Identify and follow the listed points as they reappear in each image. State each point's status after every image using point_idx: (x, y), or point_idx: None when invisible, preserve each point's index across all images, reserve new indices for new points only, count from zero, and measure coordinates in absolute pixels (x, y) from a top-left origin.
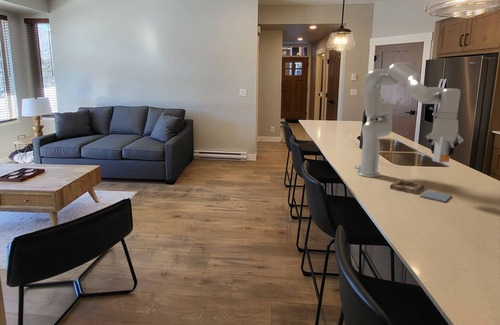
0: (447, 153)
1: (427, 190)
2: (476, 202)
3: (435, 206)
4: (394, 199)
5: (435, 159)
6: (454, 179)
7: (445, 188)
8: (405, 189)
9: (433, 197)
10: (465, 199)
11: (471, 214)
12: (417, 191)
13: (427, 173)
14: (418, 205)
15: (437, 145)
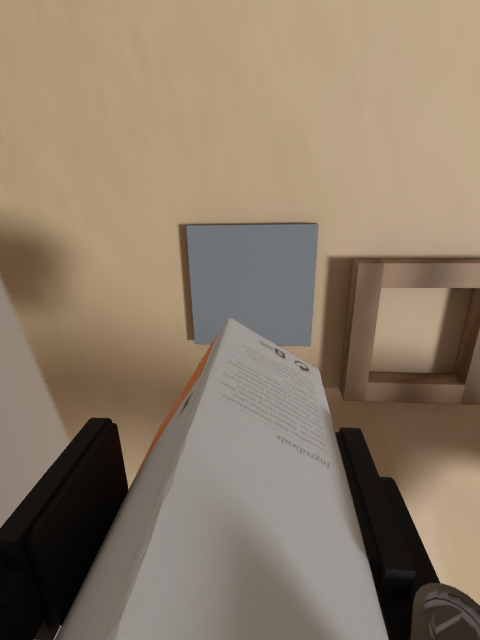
0: (139, 471)
1: (309, 343)
2: (94, 337)
3: (202, 115)
4: (438, 43)
5: (278, 354)
6: None
7: None
8: (416, 261)
9: (250, 243)
10: (140, 347)
11: (35, 130)
12: (350, 296)
13: None
14: (280, 46)
15: (291, 548)
